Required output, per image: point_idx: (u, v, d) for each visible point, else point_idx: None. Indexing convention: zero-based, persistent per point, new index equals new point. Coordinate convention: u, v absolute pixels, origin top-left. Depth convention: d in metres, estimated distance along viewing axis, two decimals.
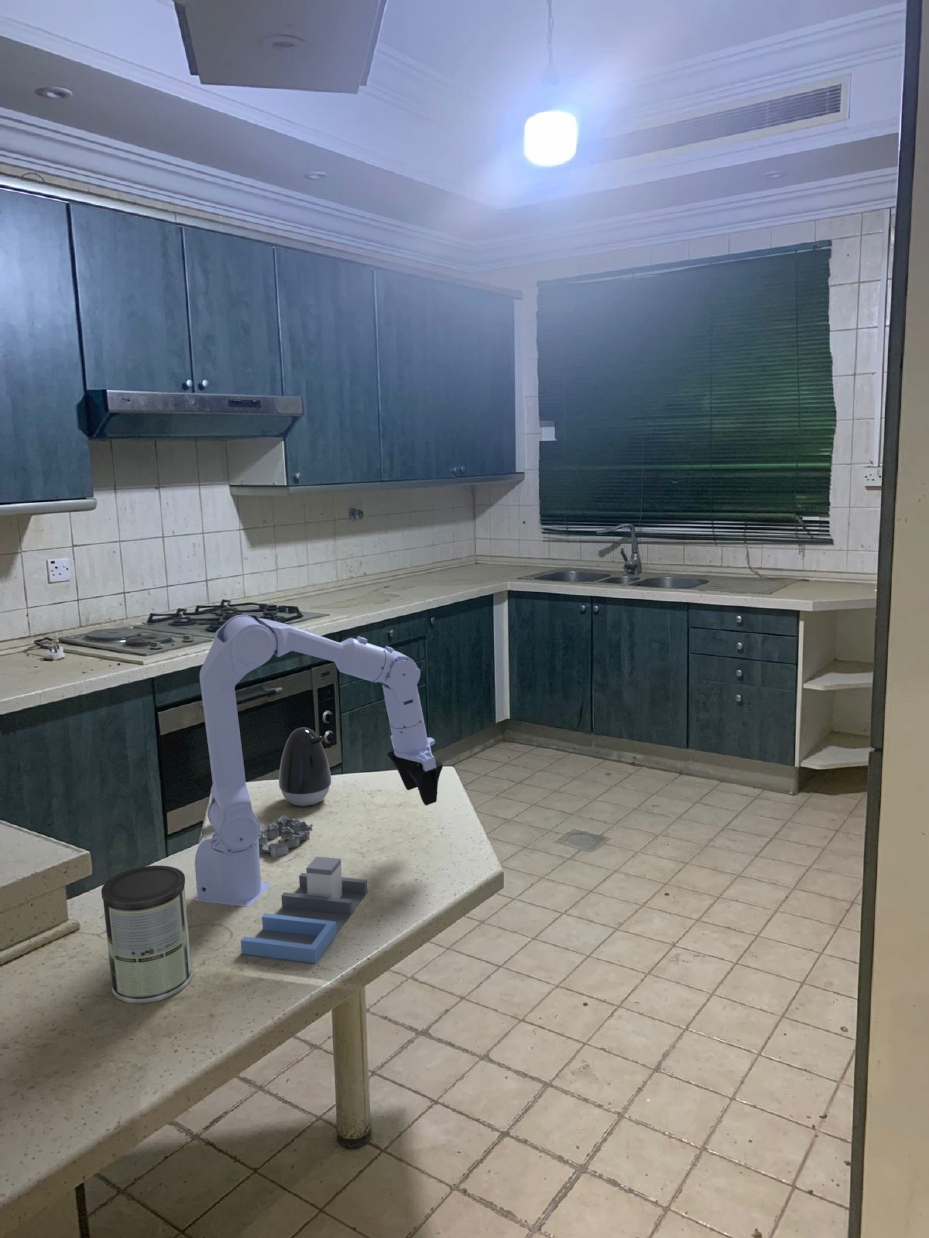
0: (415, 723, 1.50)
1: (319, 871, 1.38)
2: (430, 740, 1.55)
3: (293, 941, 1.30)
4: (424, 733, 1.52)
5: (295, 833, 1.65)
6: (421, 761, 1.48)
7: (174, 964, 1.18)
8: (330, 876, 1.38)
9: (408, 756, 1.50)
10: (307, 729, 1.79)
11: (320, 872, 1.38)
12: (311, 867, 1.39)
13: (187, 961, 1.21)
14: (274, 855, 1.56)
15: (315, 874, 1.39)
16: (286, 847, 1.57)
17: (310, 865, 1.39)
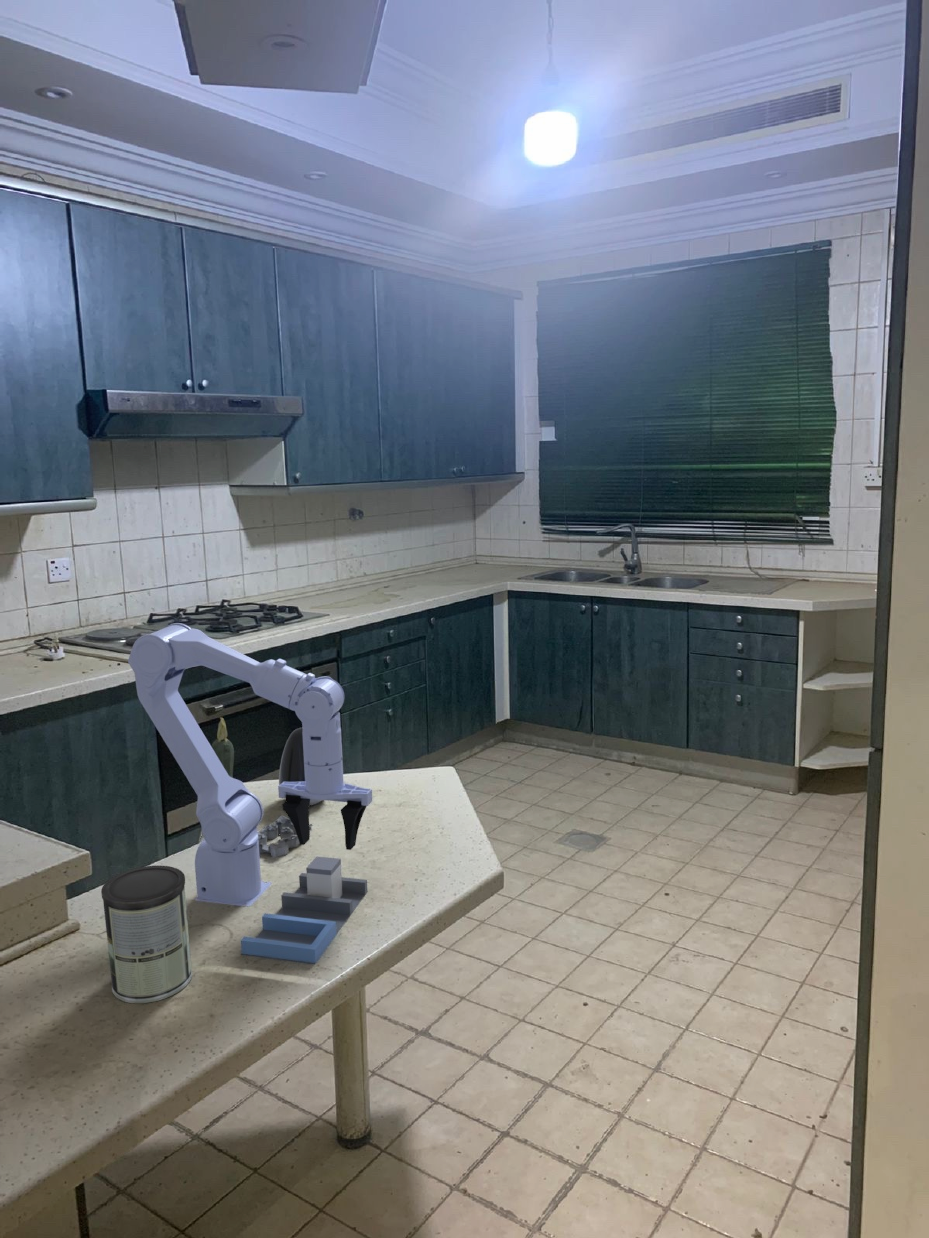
0: (319, 764, 1.35)
1: (319, 871, 1.38)
2: None
3: (293, 941, 1.30)
4: None
5: (294, 833, 1.65)
6: (361, 795, 1.36)
7: (174, 964, 1.18)
8: (330, 876, 1.38)
9: (339, 795, 1.35)
10: None
11: (320, 872, 1.38)
12: (311, 867, 1.39)
13: (187, 961, 1.21)
14: (274, 855, 1.56)
15: (315, 874, 1.39)
16: (286, 847, 1.57)
17: (310, 865, 1.39)
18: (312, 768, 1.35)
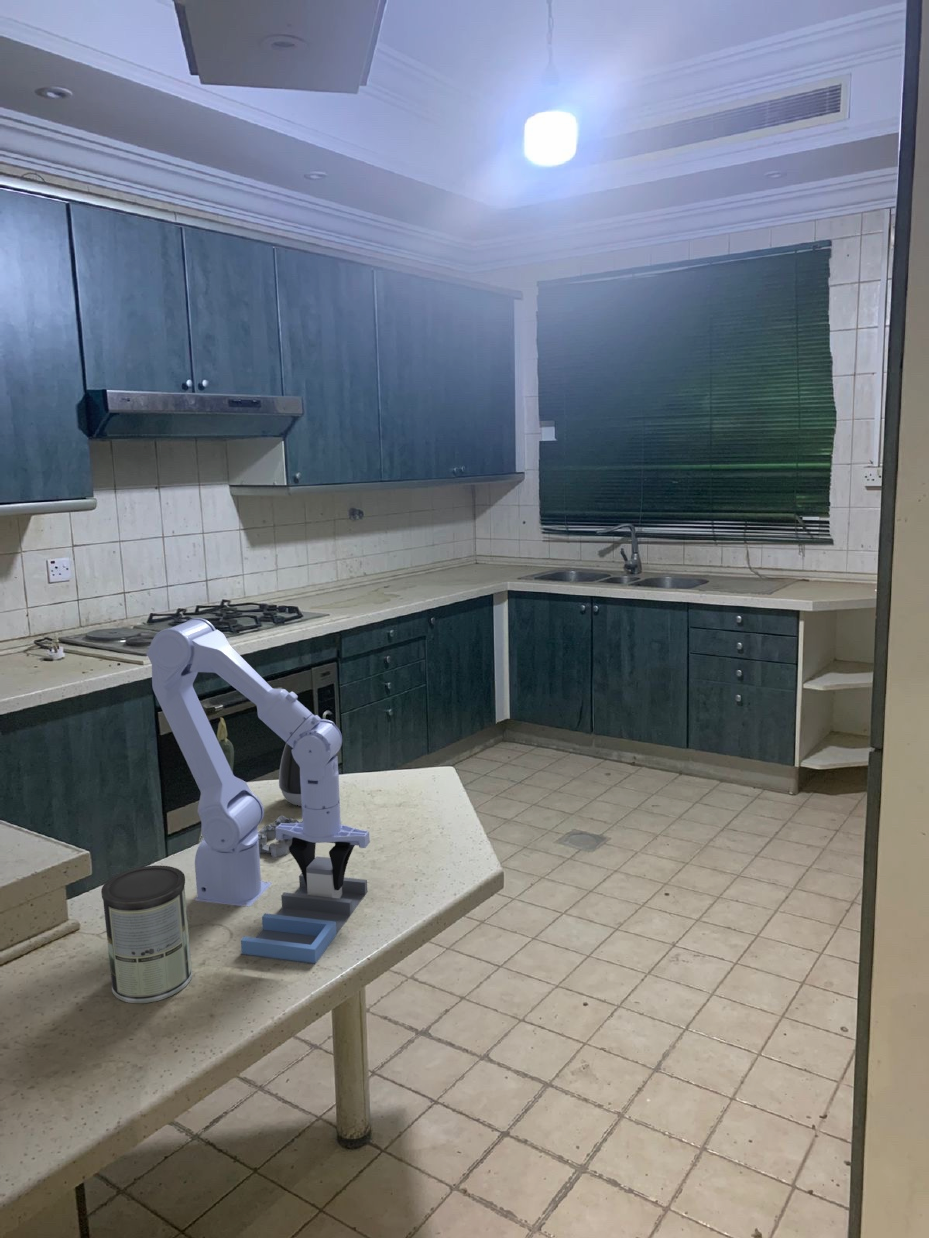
0: (316, 807, 1.35)
1: (319, 871, 1.38)
2: None
3: (293, 941, 1.30)
4: None
5: None
6: (359, 838, 1.37)
7: (174, 964, 1.18)
8: (330, 876, 1.38)
9: (337, 837, 1.36)
10: None
11: (320, 872, 1.38)
12: (311, 867, 1.39)
13: (187, 961, 1.21)
14: (274, 855, 1.56)
15: (315, 874, 1.39)
16: (286, 847, 1.57)
17: (310, 865, 1.39)
18: (310, 811, 1.36)
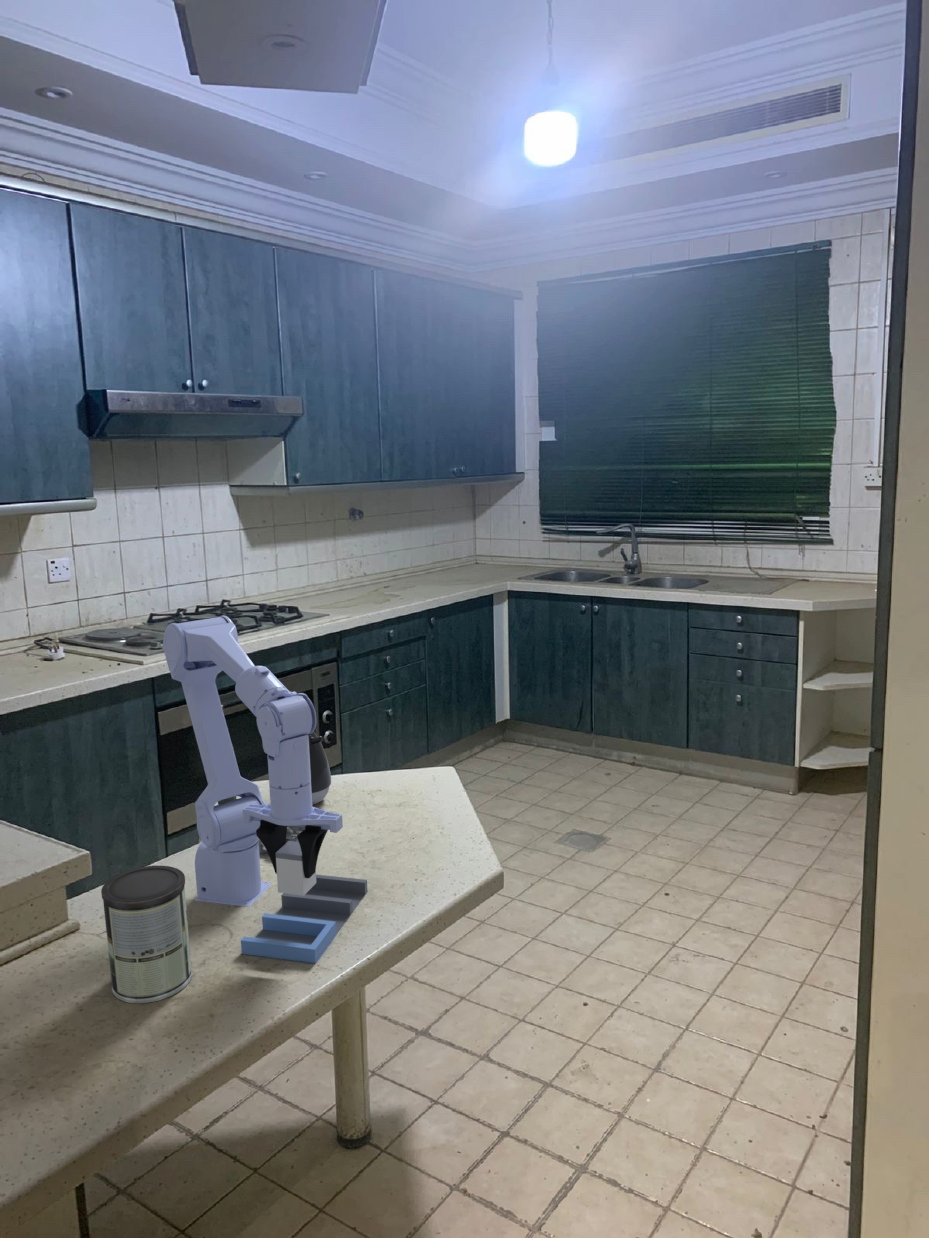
0: (274, 785, 1.25)
1: (289, 856, 1.28)
2: None
3: (293, 941, 1.30)
4: None
5: (293, 833, 1.65)
6: (330, 822, 1.25)
7: (174, 964, 1.18)
8: (301, 862, 1.27)
9: (306, 820, 1.25)
10: None
11: (290, 857, 1.28)
12: (280, 852, 1.28)
13: (187, 961, 1.21)
14: None
15: (285, 859, 1.28)
16: None
17: (280, 850, 1.29)
18: (277, 791, 1.25)
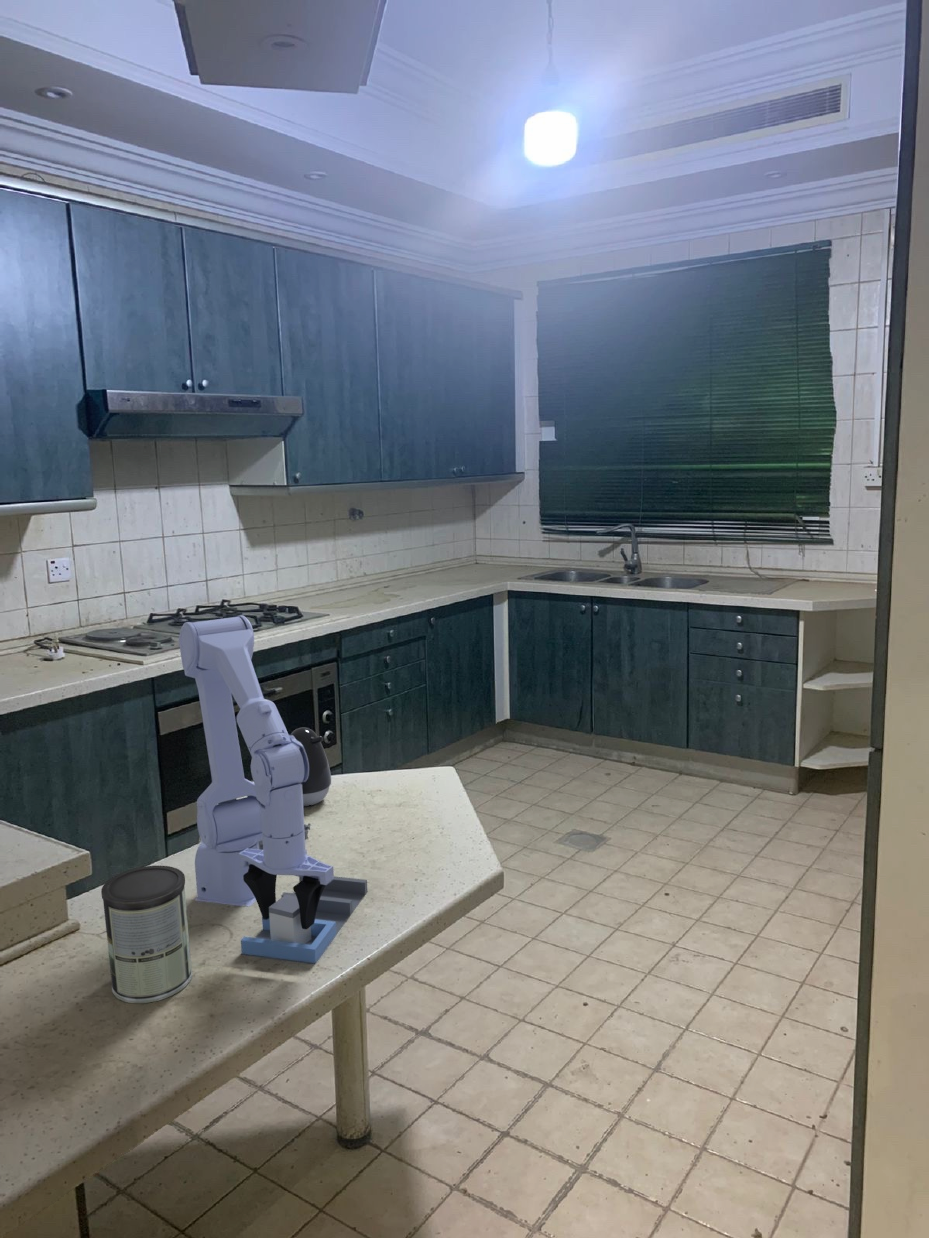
0: (265, 833, 1.24)
1: (281, 912, 1.26)
2: None
3: None
4: None
5: None
6: (320, 873, 1.23)
7: (174, 964, 1.18)
8: (292, 919, 1.26)
9: (296, 871, 1.23)
10: (307, 729, 1.79)
11: (282, 913, 1.26)
12: (273, 907, 1.27)
13: (187, 961, 1.21)
14: None
15: (277, 915, 1.27)
16: None
17: (273, 904, 1.28)
18: (268, 840, 1.24)
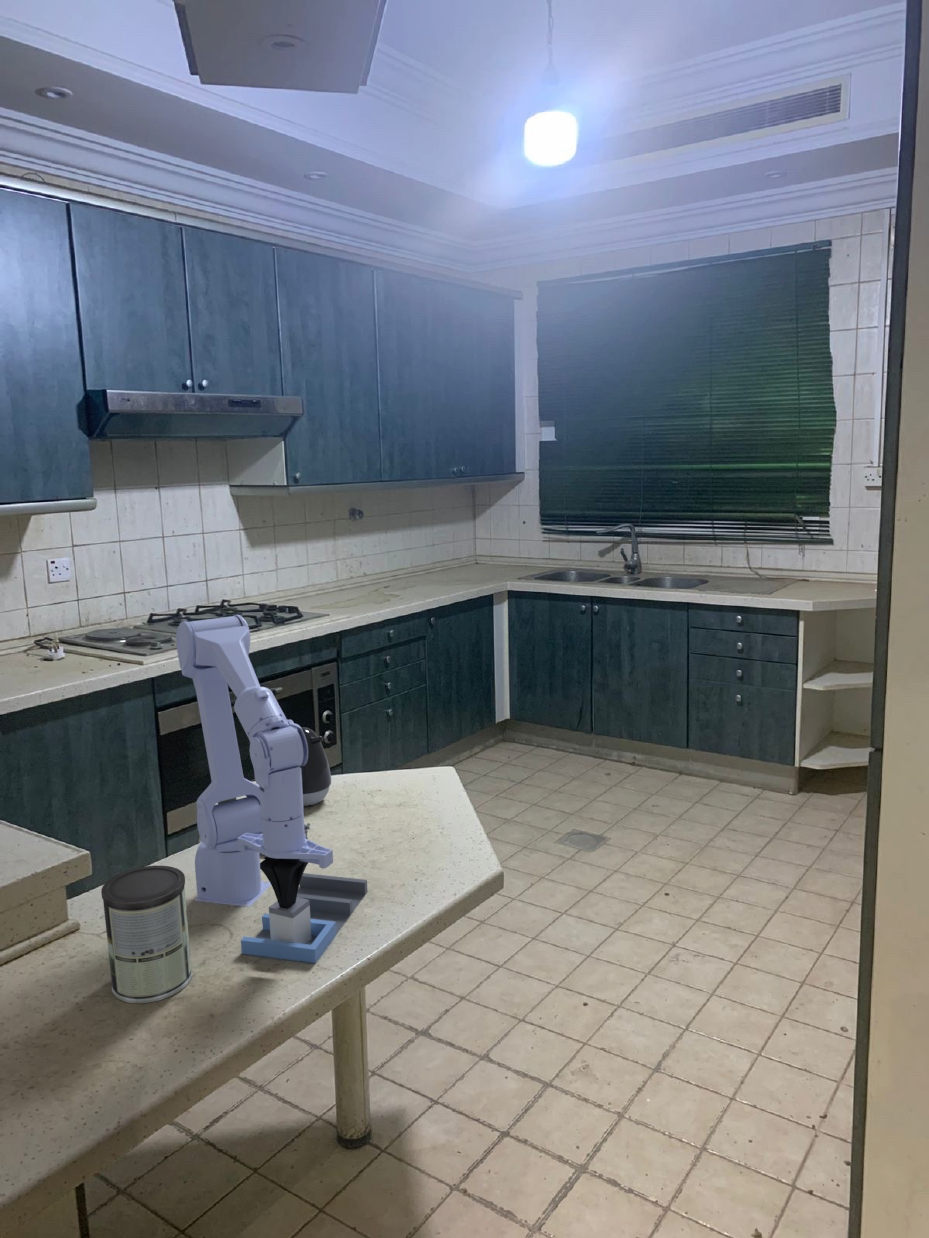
0: (264, 817, 1.23)
1: (281, 912, 1.26)
2: None
3: None
4: None
5: None
6: (319, 857, 1.23)
7: (174, 964, 1.18)
8: (292, 919, 1.26)
9: (295, 854, 1.23)
10: (307, 729, 1.79)
11: (282, 914, 1.26)
12: (273, 907, 1.27)
13: (187, 961, 1.21)
14: None
15: (277, 915, 1.27)
16: None
17: (274, 904, 1.28)
18: (267, 823, 1.23)
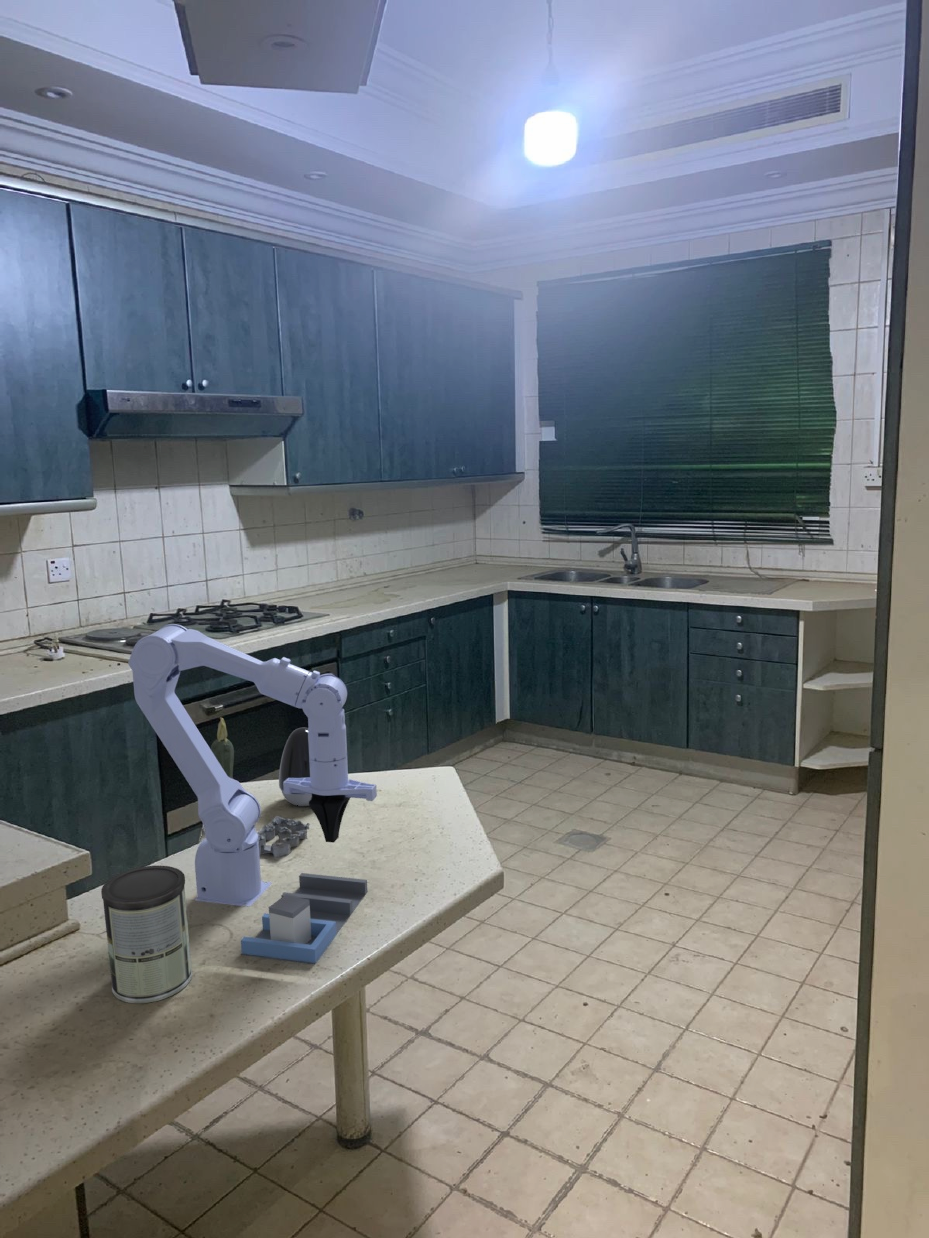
0: (327, 760, 1.37)
1: (281, 912, 1.26)
2: None
3: None
4: None
5: (291, 833, 1.65)
6: (366, 791, 1.38)
7: (174, 964, 1.18)
8: (292, 919, 1.26)
9: (345, 790, 1.38)
10: (307, 729, 1.79)
11: (282, 913, 1.26)
12: (273, 907, 1.27)
13: (187, 961, 1.21)
14: (277, 855, 1.56)
15: (277, 915, 1.27)
16: (288, 847, 1.57)
17: (273, 904, 1.28)
18: (318, 764, 1.37)
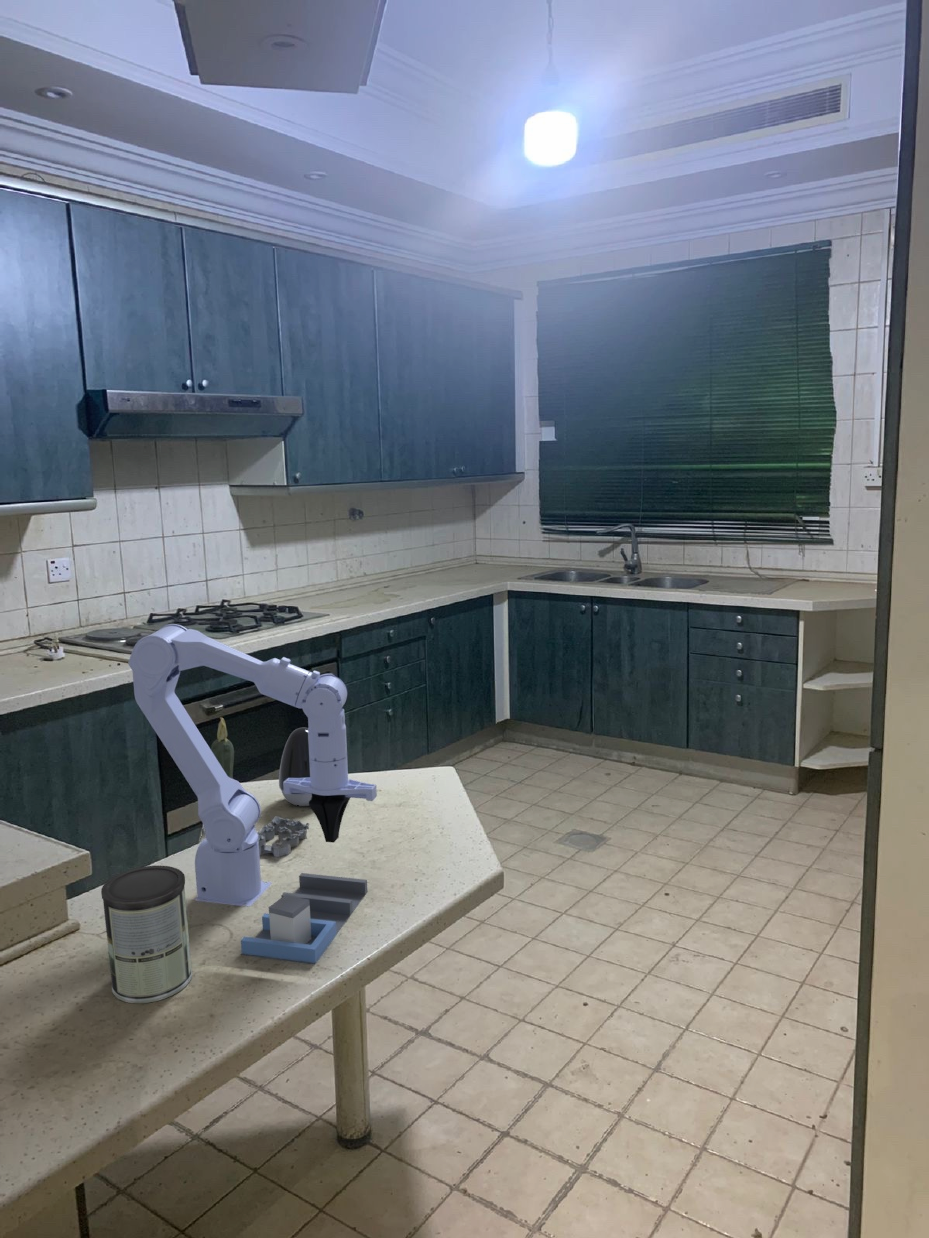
0: (327, 760, 1.37)
1: (281, 912, 1.26)
2: None
3: None
4: None
5: (291, 833, 1.65)
6: (366, 791, 1.38)
7: (174, 964, 1.18)
8: (292, 919, 1.26)
9: (345, 790, 1.38)
10: (307, 729, 1.79)
11: (282, 913, 1.26)
12: (273, 907, 1.27)
13: (187, 961, 1.21)
14: (277, 855, 1.56)
15: (277, 915, 1.27)
16: (289, 846, 1.57)
17: (273, 904, 1.28)
18: (318, 764, 1.37)
